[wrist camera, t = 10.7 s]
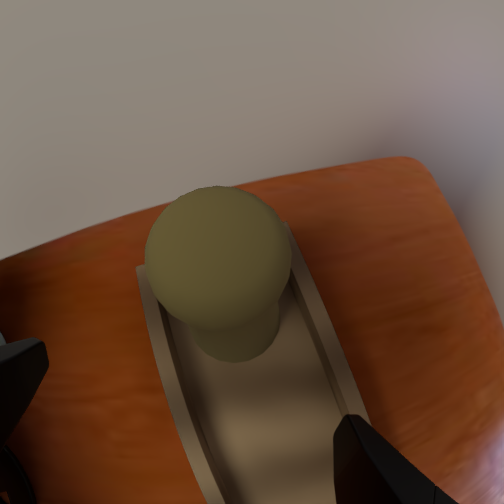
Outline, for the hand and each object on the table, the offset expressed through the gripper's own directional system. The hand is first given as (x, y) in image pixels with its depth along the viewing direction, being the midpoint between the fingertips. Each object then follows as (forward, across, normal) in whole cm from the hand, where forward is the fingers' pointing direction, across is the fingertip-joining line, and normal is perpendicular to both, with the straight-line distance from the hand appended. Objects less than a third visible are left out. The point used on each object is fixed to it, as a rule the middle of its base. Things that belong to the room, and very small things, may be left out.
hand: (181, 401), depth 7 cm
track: (+9, -4, +7) cm, 12 cm away
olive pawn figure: (+12, -1, +3) cm, 12 cm away
